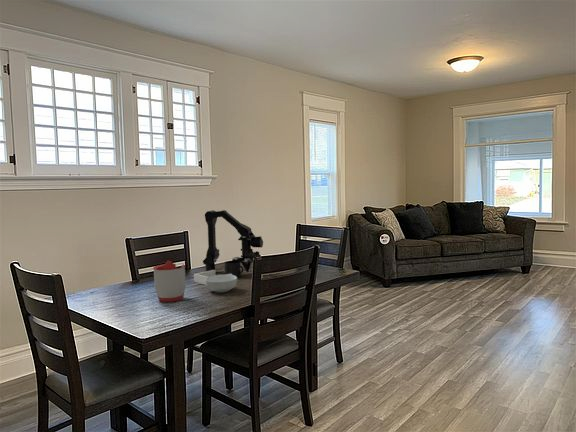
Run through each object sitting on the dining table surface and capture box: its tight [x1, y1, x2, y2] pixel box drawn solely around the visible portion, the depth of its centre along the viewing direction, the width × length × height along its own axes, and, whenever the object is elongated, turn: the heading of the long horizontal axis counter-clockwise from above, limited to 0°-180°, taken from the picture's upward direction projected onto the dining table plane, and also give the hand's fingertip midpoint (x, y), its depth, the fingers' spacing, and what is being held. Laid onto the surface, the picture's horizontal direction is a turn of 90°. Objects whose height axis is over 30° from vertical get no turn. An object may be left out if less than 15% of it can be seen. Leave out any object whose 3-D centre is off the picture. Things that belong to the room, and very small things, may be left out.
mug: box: [224, 260, 245, 279], centre depth 275 cm, size 9×12×9 cm
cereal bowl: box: [205, 273, 238, 294], centre depth 242 cm, size 17×17×7 cm
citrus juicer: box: [152, 260, 186, 303], centre depth 228 cm, size 16×17×20 cm
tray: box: [193, 269, 232, 286], centre depth 264 cm, size 18×14×4 cm
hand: (247, 272), depth 282 cm, fingers closed
